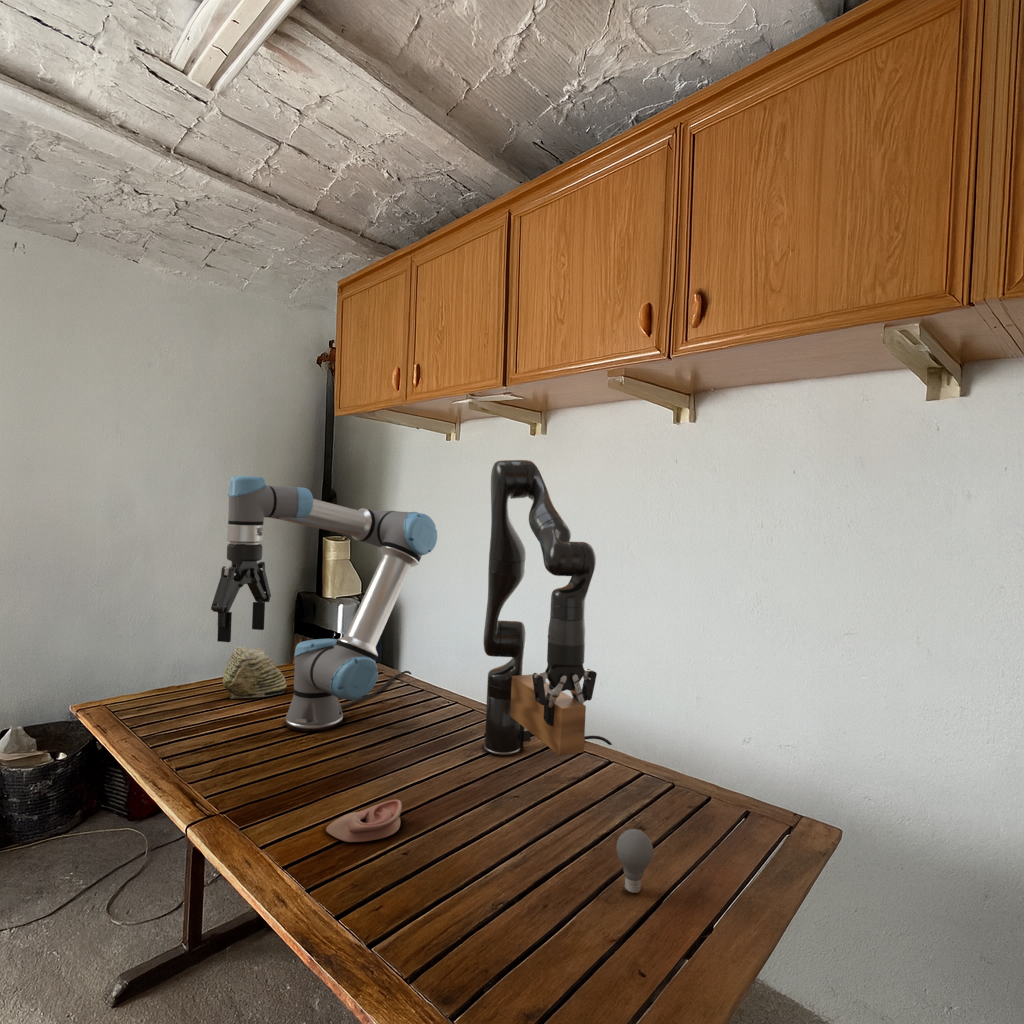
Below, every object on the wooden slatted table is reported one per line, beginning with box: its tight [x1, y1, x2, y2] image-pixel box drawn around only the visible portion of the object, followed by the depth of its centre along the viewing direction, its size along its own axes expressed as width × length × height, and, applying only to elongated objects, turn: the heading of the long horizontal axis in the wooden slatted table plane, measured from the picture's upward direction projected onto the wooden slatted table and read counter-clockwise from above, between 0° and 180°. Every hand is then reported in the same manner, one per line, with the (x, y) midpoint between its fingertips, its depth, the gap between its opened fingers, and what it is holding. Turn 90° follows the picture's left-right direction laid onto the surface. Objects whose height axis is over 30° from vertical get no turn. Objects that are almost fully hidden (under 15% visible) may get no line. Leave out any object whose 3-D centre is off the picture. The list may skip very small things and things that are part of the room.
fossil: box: [222, 646, 288, 699], centre depth 198 cm, size 9×18×15 cm, turn 132°
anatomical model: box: [325, 799, 403, 843], centre depth 122 cm, size 13×4×12 cm
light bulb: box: [615, 828, 654, 894], centre depth 106 cm, size 6×6×10 cm
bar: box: [510, 673, 587, 757], centre depth 135 cm, size 24×6×9 cm, turn 24°
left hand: (241, 635), depth 146 cm, fingers open, 13 cm apart
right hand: (562, 722), depth 128 cm, fingers closed on bar, 5 cm apart
